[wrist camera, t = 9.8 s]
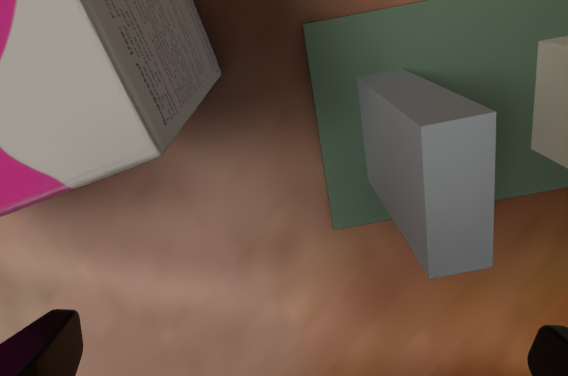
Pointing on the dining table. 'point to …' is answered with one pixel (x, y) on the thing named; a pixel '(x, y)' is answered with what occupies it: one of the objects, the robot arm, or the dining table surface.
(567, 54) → the domino
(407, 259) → the dining table surface
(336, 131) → the strip
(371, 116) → the slate domino
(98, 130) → the supplement box
